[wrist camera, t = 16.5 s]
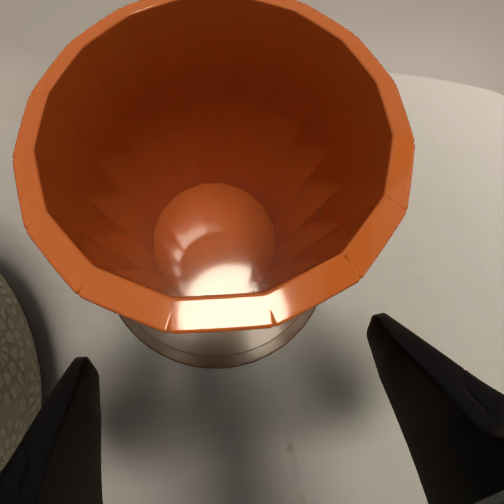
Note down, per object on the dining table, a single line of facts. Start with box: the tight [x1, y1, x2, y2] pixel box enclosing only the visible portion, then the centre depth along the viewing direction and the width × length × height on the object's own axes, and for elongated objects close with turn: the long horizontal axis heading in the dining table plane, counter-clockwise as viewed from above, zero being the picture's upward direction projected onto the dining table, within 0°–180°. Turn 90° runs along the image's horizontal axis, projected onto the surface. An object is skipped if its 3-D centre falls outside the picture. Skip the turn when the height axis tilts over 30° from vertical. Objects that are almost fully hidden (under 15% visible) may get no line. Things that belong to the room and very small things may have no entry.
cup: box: [13, 0, 415, 334], centre depth 11 cm, size 7×7×12 cm
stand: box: [118, 306, 316, 368], centre depth 18 cm, size 14×14×3 cm
